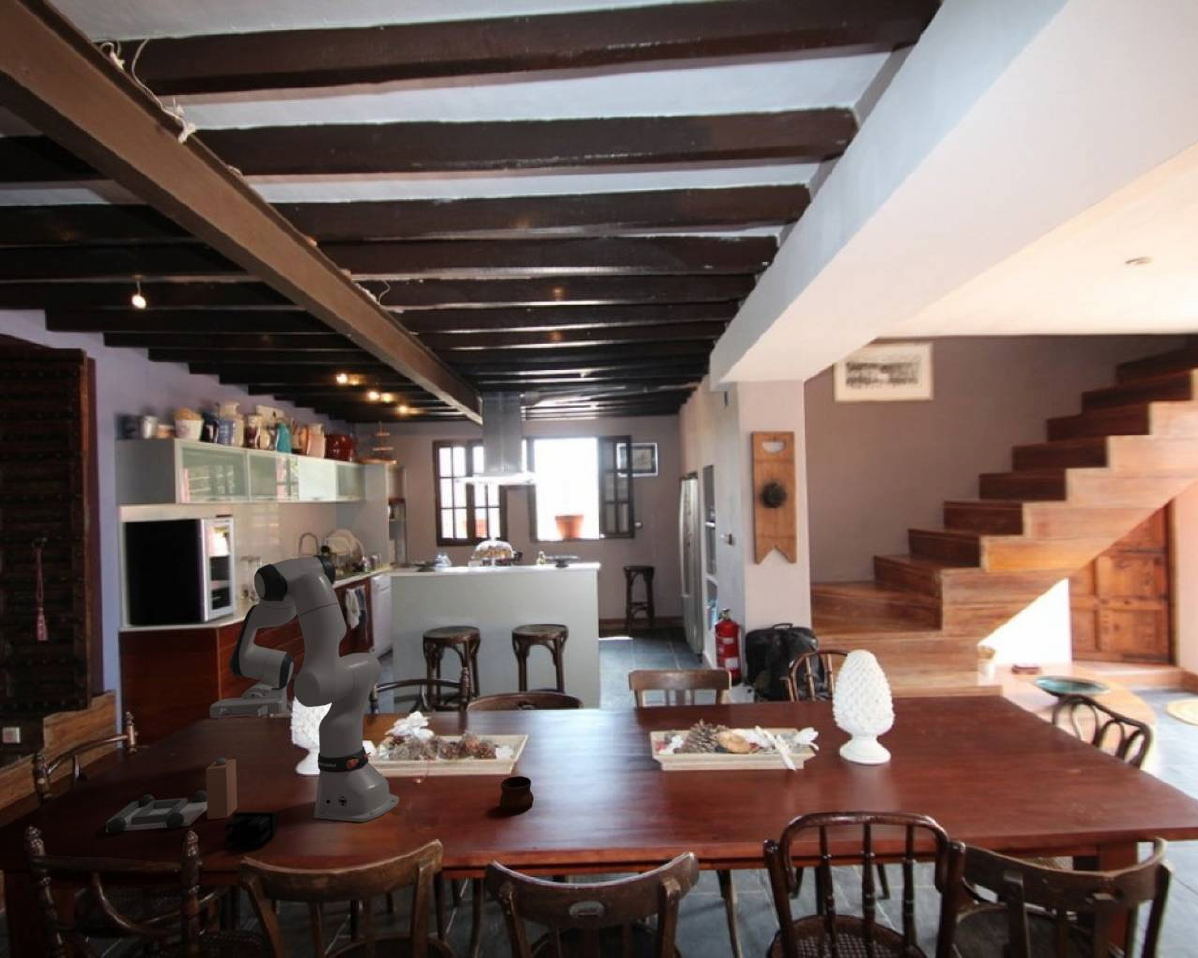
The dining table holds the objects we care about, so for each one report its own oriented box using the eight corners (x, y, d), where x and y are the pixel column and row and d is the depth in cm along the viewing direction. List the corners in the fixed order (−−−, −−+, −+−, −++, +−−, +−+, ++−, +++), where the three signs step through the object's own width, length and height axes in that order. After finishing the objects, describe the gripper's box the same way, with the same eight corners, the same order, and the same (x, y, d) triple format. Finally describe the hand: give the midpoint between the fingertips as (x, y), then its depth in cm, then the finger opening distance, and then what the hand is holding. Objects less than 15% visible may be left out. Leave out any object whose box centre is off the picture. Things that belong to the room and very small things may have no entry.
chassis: (213, 802, 192) (212, 789, 192) (186, 828, 176) (185, 814, 177) (136, 808, 190) (136, 795, 190) (102, 835, 174) (101, 820, 174)
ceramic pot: (475, 800, 186) (475, 774, 186) (539, 788, 193) (538, 763, 193) (491, 831, 170) (491, 802, 170) (560, 816, 176) (560, 789, 177)
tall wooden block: (227, 817, 182) (226, 762, 182) (207, 819, 181) (206, 764, 182) (237, 807, 188) (235, 754, 188) (217, 809, 187) (216, 755, 188)
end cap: (279, 834, 171) (279, 807, 171) (263, 849, 164) (262, 820, 164) (241, 834, 172) (240, 807, 172) (223, 849, 165) (222, 820, 165)
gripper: (220, 692, 210) (199, 706, 196) (291, 688, 212) (275, 701, 198) (221, 713, 210) (200, 728, 196) (291, 709, 212) (275, 723, 198)
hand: (238, 715), depth 197 cm, fingers open, 8 cm apart
